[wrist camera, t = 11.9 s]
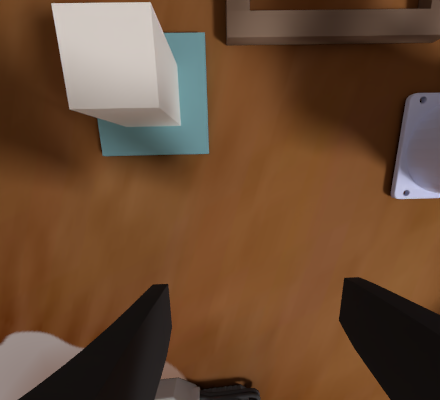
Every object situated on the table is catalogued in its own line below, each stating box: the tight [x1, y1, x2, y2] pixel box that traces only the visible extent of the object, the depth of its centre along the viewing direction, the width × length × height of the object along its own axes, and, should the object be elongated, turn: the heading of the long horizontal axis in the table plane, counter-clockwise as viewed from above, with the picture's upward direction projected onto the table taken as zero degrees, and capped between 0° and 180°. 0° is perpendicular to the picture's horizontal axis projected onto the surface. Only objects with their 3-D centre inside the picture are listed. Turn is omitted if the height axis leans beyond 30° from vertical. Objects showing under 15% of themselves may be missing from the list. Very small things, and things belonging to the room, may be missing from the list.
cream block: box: [51, 2, 181, 127], centre depth 12 cm, size 4×4×6 cm
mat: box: [97, 33, 209, 156], centre depth 15 cm, size 8×8×1 cm
